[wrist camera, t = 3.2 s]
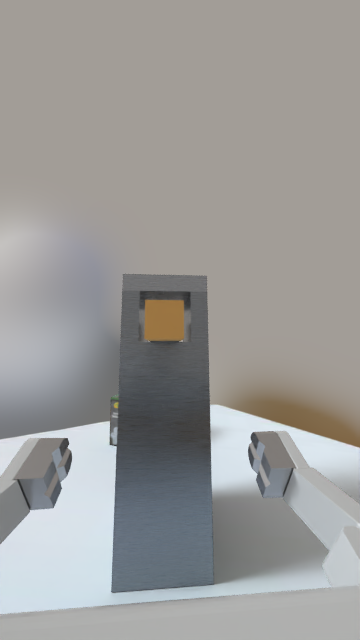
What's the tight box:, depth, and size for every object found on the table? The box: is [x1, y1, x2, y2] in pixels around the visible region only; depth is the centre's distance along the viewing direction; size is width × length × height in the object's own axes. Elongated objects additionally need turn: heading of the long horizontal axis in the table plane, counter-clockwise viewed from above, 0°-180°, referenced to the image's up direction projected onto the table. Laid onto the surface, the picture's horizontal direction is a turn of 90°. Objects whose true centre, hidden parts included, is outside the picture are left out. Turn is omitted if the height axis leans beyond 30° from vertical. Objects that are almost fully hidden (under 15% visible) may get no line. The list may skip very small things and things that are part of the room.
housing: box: [111, 274, 214, 592], centre depth 28 cm, size 10×12×32 cm
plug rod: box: [144, 300, 184, 342], centre depth 25 cm, size 3×18×3 cm, turn 4°
